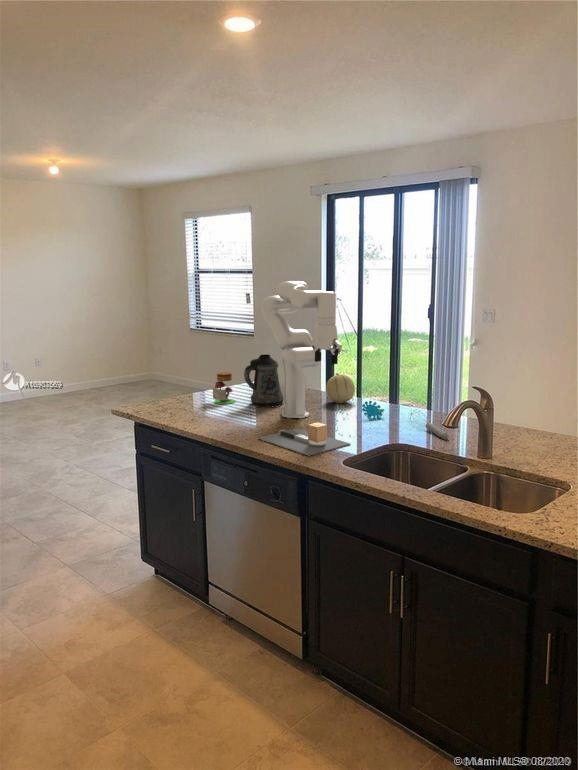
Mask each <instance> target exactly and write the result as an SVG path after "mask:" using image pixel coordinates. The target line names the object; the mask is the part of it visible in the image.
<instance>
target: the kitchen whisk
mask: <svg viewBox="0 0 578 770" xmlns="http://www.w3.org/2000/svg"><path fill="white" fill-rule="evenodd" d="M416 410H417V411H416ZM418 411H419V412H418ZM414 413H416V414H418V415H419V414H422V416H424V417H425V420H427V421H425V422H423V424H420V423H417V421H416V420H418V421H420V422H421V421H422V420H423V421H424V418H421V416H418V415H416V414H414ZM407 414H408V415H409V416H410V419H409V421H410V422H412V419H411V418H412V417H413V420H414V421H415V422H414V421H413V423H414V424H418V425H419V427H421V428H423V427H424V428H426V429H427V430H429V431H430V432H431V433H434V434H435V435H436V436H437V437H439V438H440V437H441V438H440V439H442V438H443V439H442V440H444V439H447V441H449V440H450V439H449V438H450V437H449V434H448V433H446V432H445V431H443V430H442V429H440V428H439V427H437V426H436V425H434V423H431V422H430V421H429V419H428V418H427V416H426V415H425V414H424V412H422V411H421V410H420V409H415V410H414V409H412V411H411V412H407ZM414 416H415V417H414ZM416 417H417V418H416ZM418 418H419V419H418ZM420 419H421V420H420ZM422 425H423V426H422Z"/></svg>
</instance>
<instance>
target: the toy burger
mask: <svg viewBox="0 0 578 770" xmlns="http://www.w3.org/2000/svg"><path fill="white" fill-rule="evenodd" d="M216 380H217V381H216V382H215V385H214V386H211V387H212V399H214V403H215V404H216V403H217V404H218V405H230V404H231V403H232V404H235V403H236V400H235V399H232V398H229V395H230V393H232V392H234V391H233V389H232V388H231V387H230V386H226V385H227V384H225V383H224V382H228V381H229V382H230V381H232V372H228V371H221V372H218V373H216ZM223 387H225V388H224V389H223ZM234 402H235V403H234ZM217 404H216V405H217Z"/></svg>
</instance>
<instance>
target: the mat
mask: <svg viewBox="0 0 578 770" xmlns="http://www.w3.org/2000/svg"><path fill="white" fill-rule="evenodd" d="M290 431H293V432H297V433H299V434H301V435H304V436H307V437H308V430H306V429H302V428H295V429H290ZM258 439H261V440H264V441H268V442H270V443H273V444H276V445H279V446H282V447H285V448H288V449H291V450H294V451H296V452H295V453H297V452H299V453H302V454H305V455H308V456H309V455H313V454H316V455H318V454H317V453H320V454H322V453H321V452H324V453H326V451H327V452H330V450H331V451H334V450H337V449H341V448H345V447H347V446H351V442H347V441H343V440H341V439H337V438H333V437H330V436H327V440H326V446H324V447H311V446H309V444H308V443H304V442H301V441H298V440H295V439H291V438H288V437H285V436H282V435H279V432H276V433H273V434H268V435H263V436H259V437H257V440H258ZM261 440H260V441H261ZM264 441H263V442H264ZM270 443H269V444H270ZM273 444H272V445H273ZM276 445H275V446H276ZM279 446H278V447H279ZM282 447H281V448H282ZM285 448H284V449H285ZM288 449H287V450H288ZM291 450H290V451H291ZM294 451H293V452H294ZM299 453H298V454H299ZM302 454H301V455H302ZM305 455H304V456H305ZM308 456H307V457H308ZM313 456H314V455H313ZM309 457H310V456H309Z"/></svg>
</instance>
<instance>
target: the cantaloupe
mask: <svg viewBox="0 0 578 770" xmlns="http://www.w3.org/2000/svg"><path fill="white" fill-rule="evenodd" d="M325 387H326V388H325V392H326V394H327V397H328V398H329V400H330V401H332V402H334V403H337V404H341V403H342V404H345V403H347V402H349V401H350V400H352V399H353V398H354V396H355V393H356V387H355V382H354V381H353V379H352V378H351V377H349V376H348V375H346V374H339V373H335V375H333V376H331V377H330V378H329V379H328V380H327V383H326V386H325Z"/></svg>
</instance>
